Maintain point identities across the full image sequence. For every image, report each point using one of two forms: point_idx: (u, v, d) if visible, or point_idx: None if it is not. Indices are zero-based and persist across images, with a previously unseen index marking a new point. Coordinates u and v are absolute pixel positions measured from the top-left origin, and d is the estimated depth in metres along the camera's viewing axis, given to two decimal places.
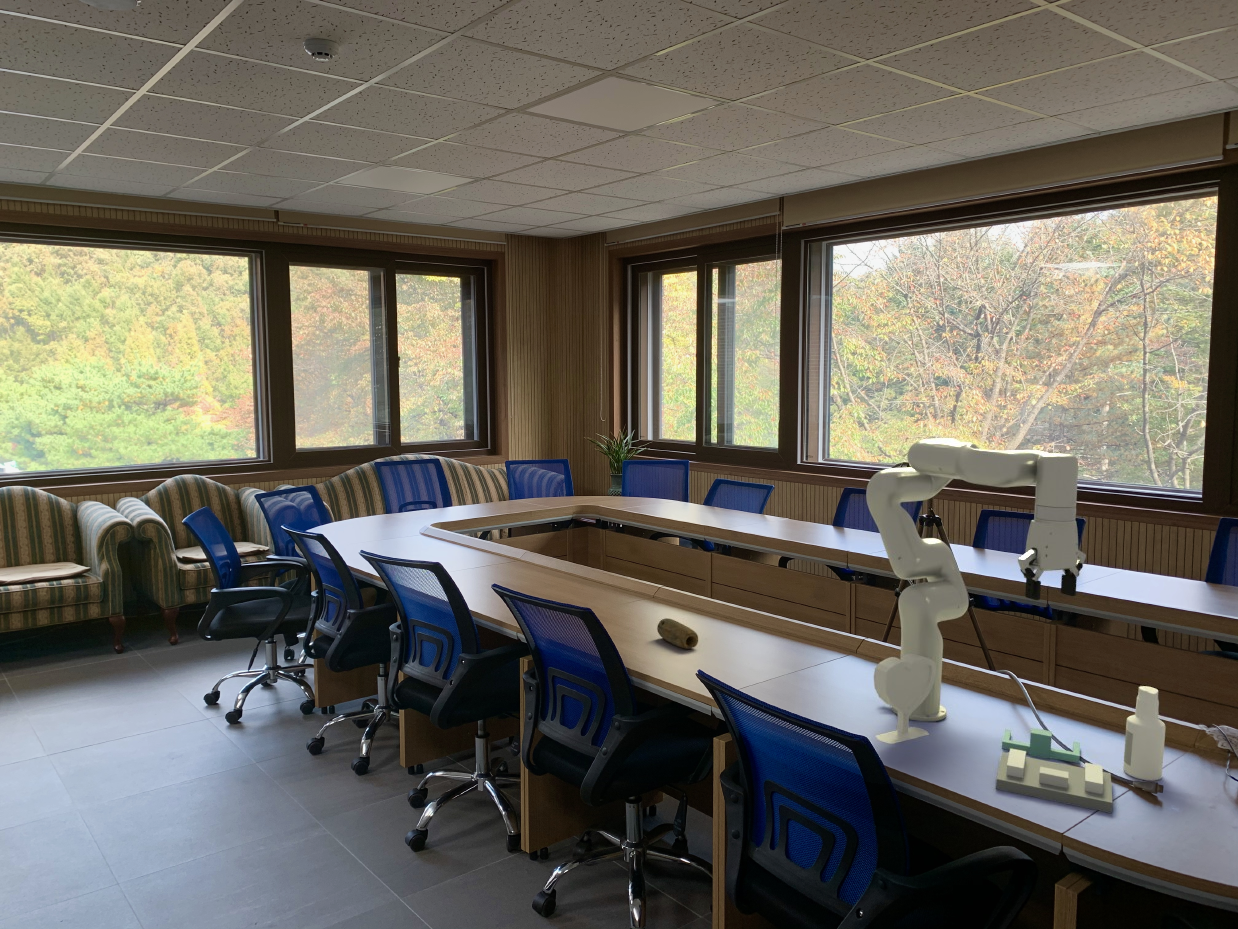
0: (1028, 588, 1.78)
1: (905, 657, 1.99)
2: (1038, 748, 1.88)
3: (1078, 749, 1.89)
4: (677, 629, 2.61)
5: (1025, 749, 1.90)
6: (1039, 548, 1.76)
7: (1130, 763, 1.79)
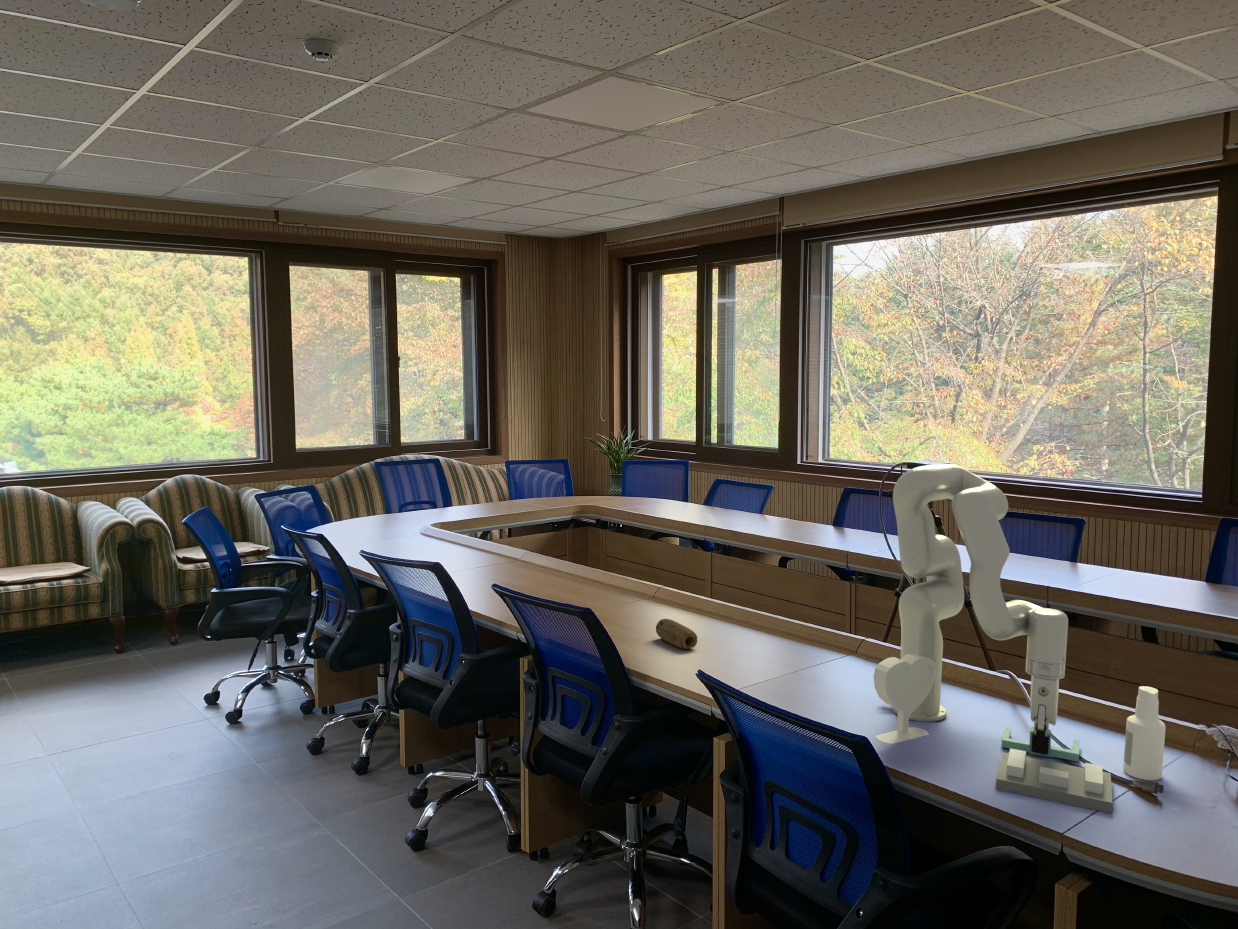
0: None
1: (905, 657, 1.99)
2: None
3: (1078, 747, 1.89)
4: (676, 629, 2.61)
5: (1025, 747, 1.90)
6: None
7: (1130, 763, 1.79)
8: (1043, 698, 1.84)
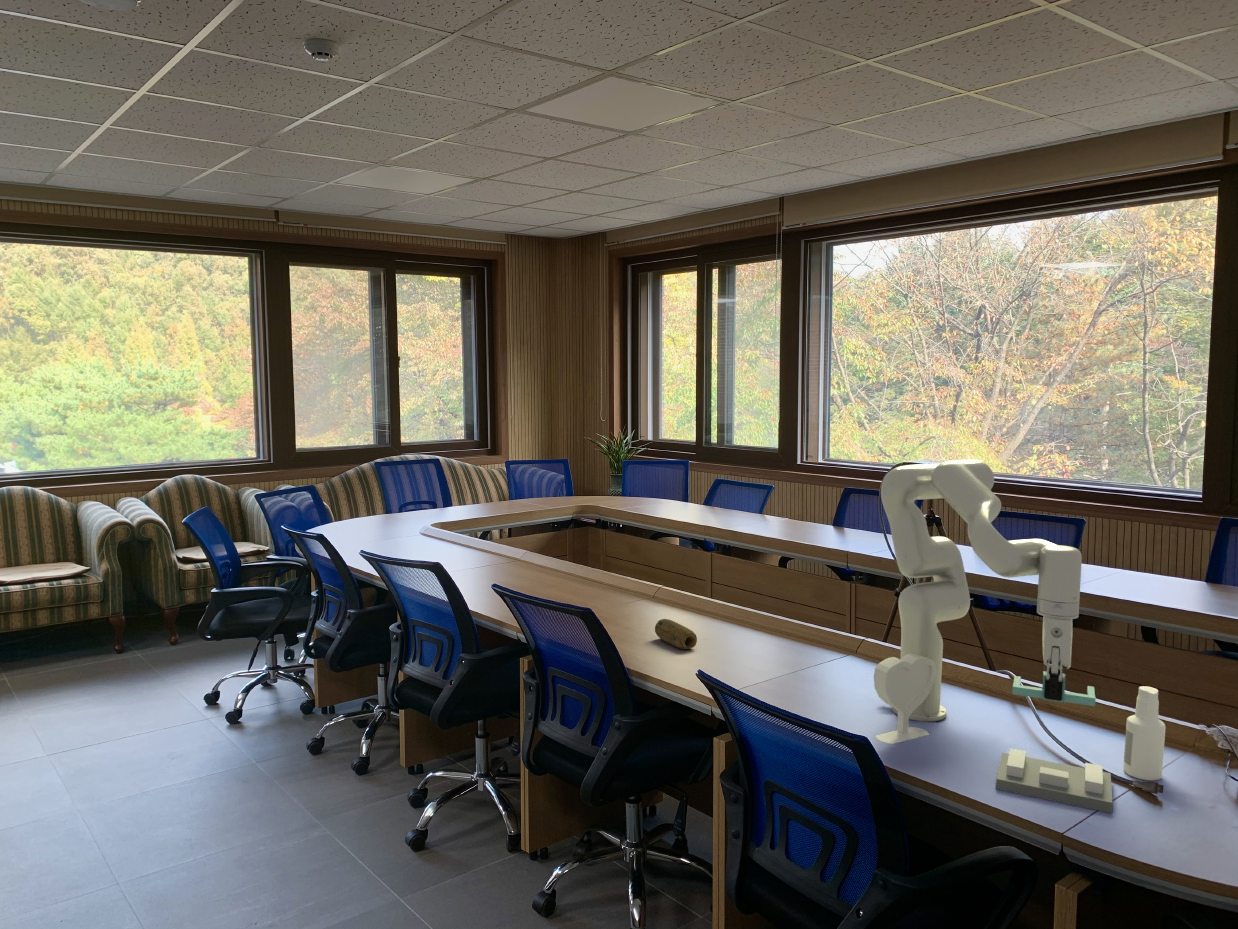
0: None
1: (905, 657, 1.99)
2: None
3: (1093, 692, 1.78)
4: (675, 630, 2.60)
5: (1037, 693, 1.79)
6: None
7: (1130, 763, 1.79)
8: (1057, 639, 1.72)
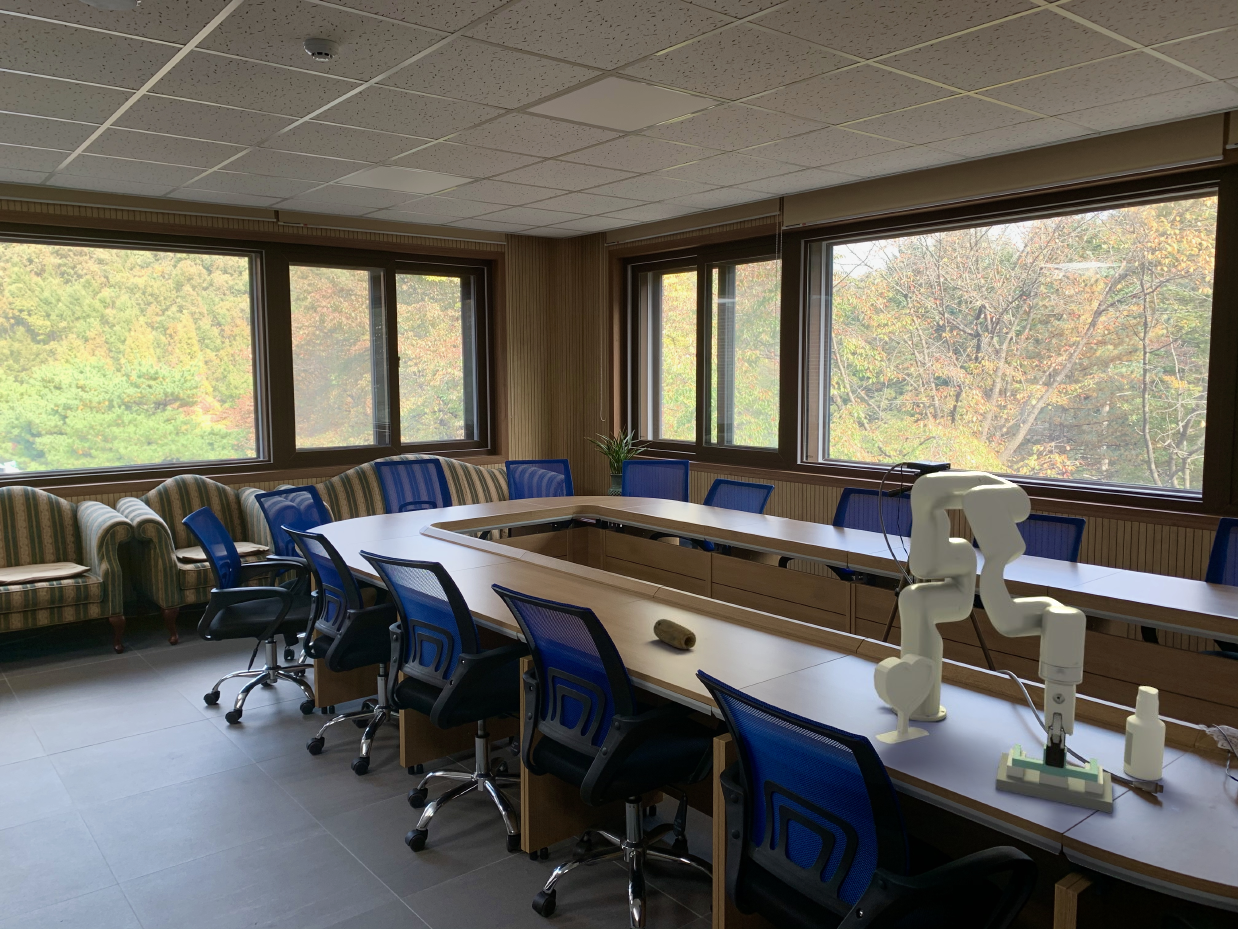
0: None
1: (905, 657, 1.99)
2: None
3: (1096, 766, 1.72)
4: (675, 630, 2.60)
5: (1037, 766, 1.72)
6: None
7: (1130, 763, 1.79)
8: (1059, 705, 1.66)
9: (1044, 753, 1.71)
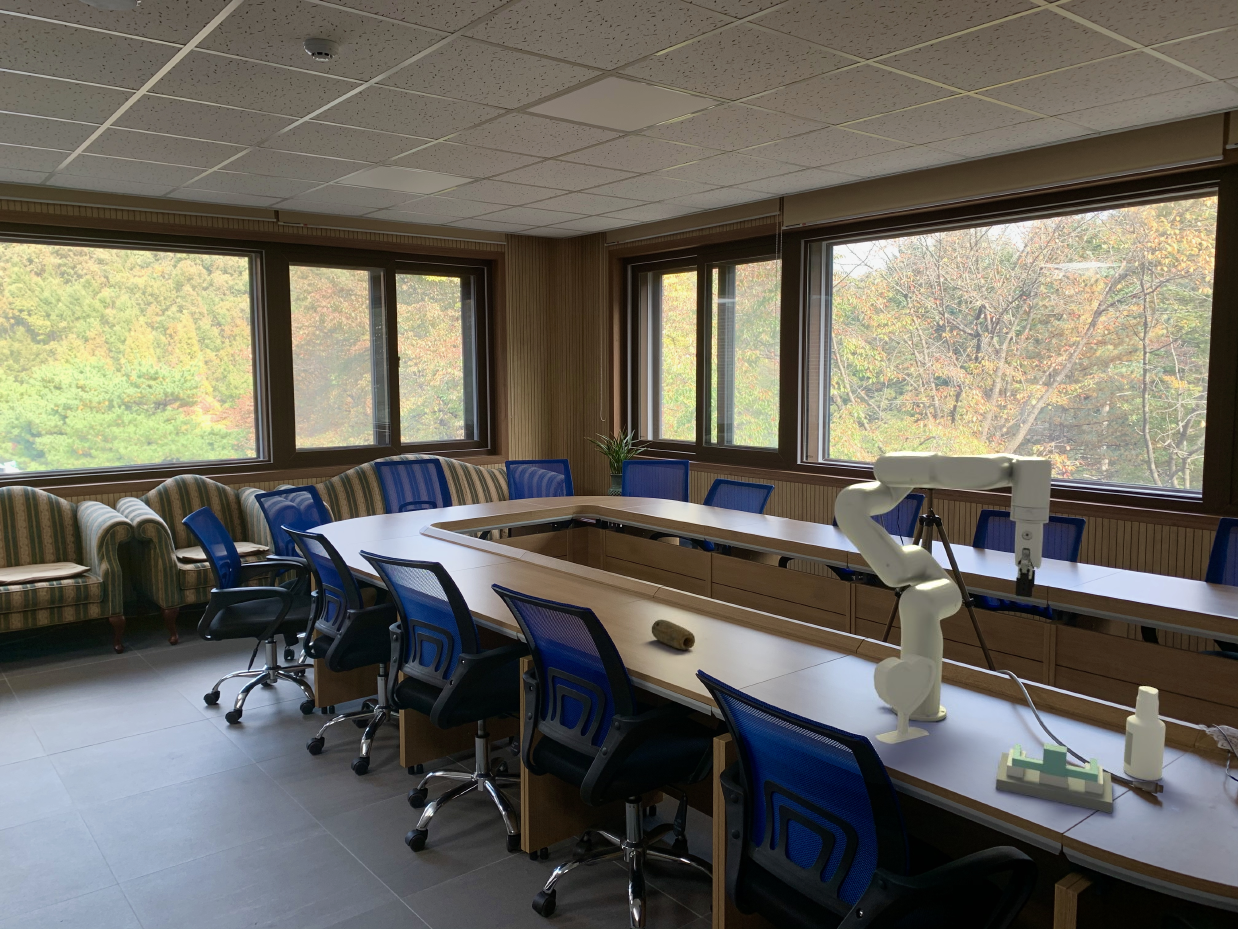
0: None
1: (905, 657, 1.99)
2: (1052, 766, 1.70)
3: (1096, 766, 1.72)
4: (673, 630, 2.60)
5: (1037, 766, 1.72)
6: None
7: (1130, 763, 1.79)
8: (1027, 541, 1.86)
9: (1044, 753, 1.71)
